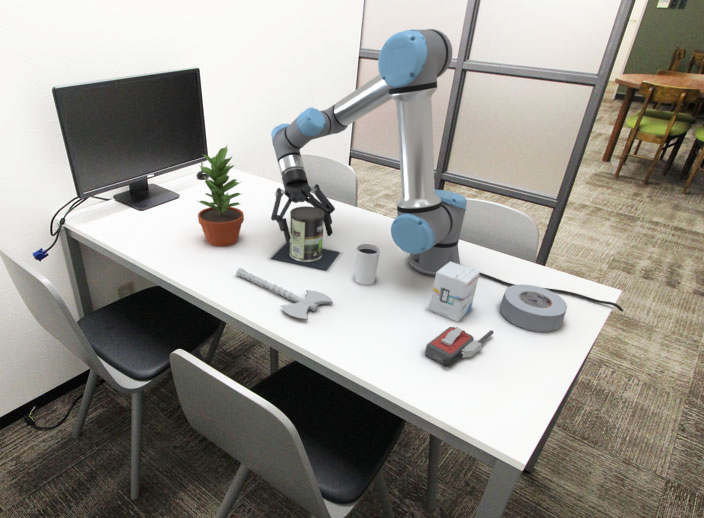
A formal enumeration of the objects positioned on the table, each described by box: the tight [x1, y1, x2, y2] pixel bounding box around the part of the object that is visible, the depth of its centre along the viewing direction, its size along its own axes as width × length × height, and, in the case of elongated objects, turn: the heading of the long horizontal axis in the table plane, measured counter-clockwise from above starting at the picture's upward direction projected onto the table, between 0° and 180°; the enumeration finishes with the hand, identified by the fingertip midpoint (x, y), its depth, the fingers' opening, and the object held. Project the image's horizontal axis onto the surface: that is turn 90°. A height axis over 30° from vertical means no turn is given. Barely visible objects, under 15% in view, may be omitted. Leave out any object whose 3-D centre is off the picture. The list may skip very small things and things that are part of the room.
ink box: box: [428, 261, 481, 323], centre depth 129 cm, size 8×8×12 cm
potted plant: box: [197, 145, 245, 247], centre depth 155 cm, size 15×15×30 cm
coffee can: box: [289, 205, 325, 262], centre depth 152 cm, size 10×10×14 cm
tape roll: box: [499, 283, 568, 333], centre depth 129 cm, size 15×15×5 cm
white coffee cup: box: [354, 243, 381, 286], centre depth 141 cm, size 7×7×10 cm
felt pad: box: [270, 241, 341, 272], centre depth 155 cm, size 18×13×1 cm
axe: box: [235, 267, 334, 320], centre depth 135 cm, size 30×14×2 cm, turn 50°
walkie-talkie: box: [424, 326, 495, 367], centre depth 117 cm, size 9×4×20 cm
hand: (309, 237), depth 150 cm, fingers open, 13 cm apart
